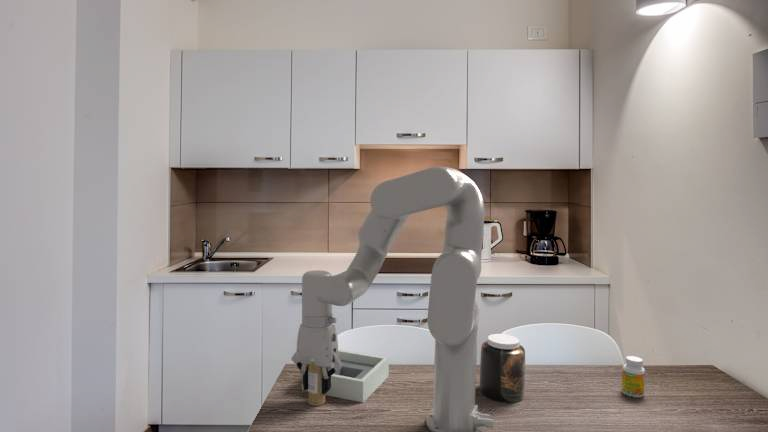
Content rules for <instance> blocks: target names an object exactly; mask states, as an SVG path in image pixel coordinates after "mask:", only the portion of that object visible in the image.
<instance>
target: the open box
mask: <svg viewBox="0 0 768 432" xmlns="http://www.w3.org/2000/svg"><path fill="white" fill-rule="evenodd" d="M338 354H339V359H340V361H341V362H342V364H343V367H342V368H341V369H339V370H338V371H336V372H335V373H334V374H333V375H331V388H330V390H329V391H328V392H327V393H325V396H329V397H333V398H338V399H342V400H343V399H344V400H346V401H347V400H349V401H353V402H358V403H365V402H366V401H367V399H368V398H369V397H370V396H371V395H372V394H373V393H374V392H375V391H376V390H377V389H378V388H379V387H380V386H381V385H382V384H383V382H384V381H386V380H387V378H389V372H390V371H389V369H390V368H389V366H390V365H389V364H390V357H387V356H381V355H374V354H367V353H362V352H361V353H360V352H355V351H349V350H343V349H338ZM331 366H332V368H333V367H335V364H334V362H332V363H331ZM301 375H302V374H301ZM301 382H302V383H301V384H302V385H301V387H302V389H301V390H302V391H303V392H308V393H309V391H308V389H307V390H306V391H305V390H303V375H302V380H301Z"/></svg>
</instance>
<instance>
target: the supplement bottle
mask: <svg viewBox="0 0 768 432" xmlns="http://www.w3.org/2000/svg"><path fill="white" fill-rule="evenodd" d="M643 362H644V361H643V358H641V357H638V356H634V355H629V356H628V355H627V356H626V357H625V364H623V365H622V373H621V375H622V377H621V392H622V394H624V395H625V394H627V395H626V396H628V395H629V396H628V397H631V396H633V397H632V398H643V397H644V395H645V382H646V381H645V380H646V379H645V378H646V370H645V368H644V367H643Z"/></svg>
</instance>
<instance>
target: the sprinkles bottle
mask: <svg viewBox="0 0 768 432" xmlns="http://www.w3.org/2000/svg"><path fill="white" fill-rule="evenodd" d="M310 361H314V360H313V359H311V360H310ZM311 363H312V364H311V365H308V391H309V392H308V391H307V392H308V398H307V399H308V400H307V403H308V404H309V405H310V406H314V407H317V406H322V405H324V404H325V403H326V395H325V394H322V379H323V378H324V376H323V371H322V367H319V366H316V365H314V364H313V363H314V362H311Z"/></svg>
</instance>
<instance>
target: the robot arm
mask: <svg viewBox="0 0 768 432" xmlns="http://www.w3.org/2000/svg"><path fill="white" fill-rule="evenodd" d="M369 203H370V207H371V209H370V211H369V213H368V215H367V216H366V218H365V220H364V221H363V223H362V225H361V227H360V229H359V230H358V231H357V238H358V240H359V244H358V245H359V246H358V250H357V251H356V254H355V256H354V257H353V259H352V261H351V263H350V265H349V266H348V267H347V269H346V270H345V271H343V272H341V273H337V274H335V275H332V274H331V273H330V272H329V271H326V270H320V269H319V270H310V271H309V270H308V271H306V272H304V273H303V274H302V278H301V324H299V327H298V333H297V339H296V351H295V353H294V354H293V356H291V361H292V362H293V363H294V364H295V365H296V366H297V368H298V370H300V375H303V390H305V391H304V392H307V391H306V390H307V389H308V365H311V364H312V363H311V362H314V363H313V364H314V365H316V366H319V367H322V371H323V376H324V378H323V379H322V394H325V393H327V392H328V391H329V390H330V388H331V375H333V374H334V373H335V372H336V371H338V370H339V369H341V368H342V367H343V364H342V362H341V361H340V359H339V354H338V350H339V342H338V341H339V339H338V333H337V328H336V325H335V324H336V323H337V318H336V317H333V306H337V307H344V306H345V307H346V306H348V305H350V304H351V303H353V302H355V300H357V299H359V298H360V297H362V296H363V295H364V294H365V293H366V292H367V291H368V290H369V288H370V286H372V283H373V282H374V280H375V278H376V277H377V275H378V274H379V272H380V270H381V269H382V266H383V263H384V262H385V260H386V257H387V256H388V253H389V250H390V248H391V247H392V245H393V243H394V242H395V240H396V239H397V237H398V235H399V234H400V232H401V230H402V228H403V227H404V226H405V224H406V223H407V220H408V219H409V217H410V216H411V215H413V214H417V213H421V212H425V211H428V210H433V209H436V208H439V207H444V206H445V208H446V211H447V214H446V216H447V217H446V221H445V228H444V230H445V231H444V232H445V233H444V240H443V241H444V242H443V248H442V253H441V254H439V256H437V258H436V259H435V261H434V264H433V267H432V271H431V276H430V284H429V285H430V286H429V295H428V296H429V297H428V308H427V327H428V330H429V333H430V335H431V336H432V337H433V338H434V342H435V344H434V363H433V364H434V367H433V369H434V370H433V406H432V407H433V410H432V411H431V412H429V413H428V415H427V416H426V421H425V423H426V426H427V428H428V429H429V431H431V432H481V430H482V427H485V428H489V429H494V425H495V420H494V419H493V418H491V414H488V413H481V412H480V411H479V405H478V404H476V384H477V383H476V380H477V377H476V375H477V353H478V352H477V351H478V350H477V349H478V332H479V320H480V319H479V317H480V315H479V314H480V311H479V307H478V304H477V301H476V291H477V283H478V279H479V278H480V275H481V272H482V253H483V241H484V224H485V203H484V199H483V195H482V193H481V191H480V189H479V187H478V185H476V182H474V181H473V180H472V179H471V178H470V177H468V176H467V175H465V173H463V172H461V171H460V170H458V169H455V168H452V167H448V166H447V167H446V166H441V165H440V166H433V167H428V168H425V169H422V170H421V169H420V170H419V171H415V172H411V173H409V174H405V175H403V176H399V177H395V178H391V179H388V180H387V179H386V180H385V181H382V182H380V183H379V184H378V185H376V186H375V188H373V190H372V191H371V195H370V199H369ZM311 359H313V360H314V361H310V360H311ZM332 362H334V364H335V367H333V368H332V366H331V363H332ZM303 390H302V391H303Z"/></svg>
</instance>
